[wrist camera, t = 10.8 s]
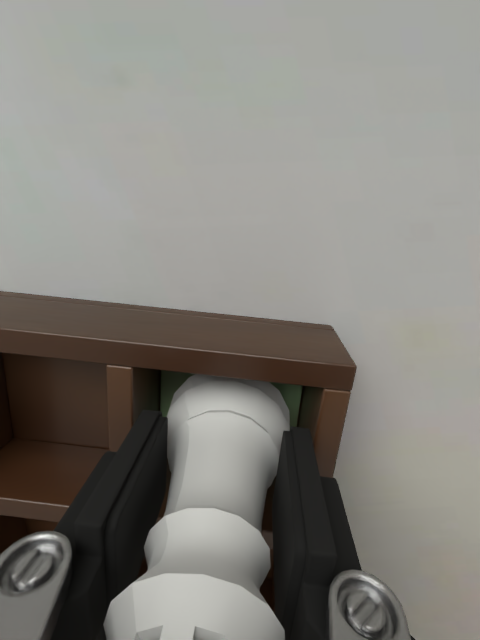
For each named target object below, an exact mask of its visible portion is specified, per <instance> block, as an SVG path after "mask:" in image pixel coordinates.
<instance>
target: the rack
mask: <svg viewBox="0 0 480 640" xmlns="http://www.w3.org/2000/svg"><path fill="white" fill-rule="evenodd" d="M356 368H357V367H356V365H355V363H354V361H353V360H352V358H351V357H350V355H349V353H348V352H347V350H346V348H345V347H344V345H343V344H342V342H341V340H340V339H339V337H338V335H337V334H336V332H335V331H334V329H333V328H332V326H330V325H322V324H312V323H302V322H293V321H283V320H273V319H264V318H254V317H244V316H235V315H225V314H216V313H206V312H196V311H187V310H177V309H167V308H158V307H148V306H138V305H129V304H119V303H109V302H100V301H90V300H80V299H71V298H61V297H52V296H42V295H32V294H23V293H13V292H3V291H0V555H1V554H2V553H3V552H4V551H5V550H6V549H7V548H8V547H10V546H11V545H12V544H13V543H15V542H16V541H18V540H20V539H22V538H23V537H25V536H28V535H30V534H33V533H36V532H42V531H54V529H55V527H56V526H57V524H58V523H59V521H60V520H61V518H62V517H63V515H64V514H65V512H66V511H67V509H68V508H69V506H70V505H71V503H72V502H73V500H74V499H75V497H76V495H77V494H78V492H79V491H80V489H81V488H82V486H83V485H84V483H85V482H86V480H87V479H88V477H89V476H90V474H91V473H92V471H93V470H94V468H95V467H96V465H97V463H98V462H99V460H100V459H101V457H102V456H103V455H104V454H105V453H106V452H107V451H111V452H117V451H118V449H119V448H120V446H121V444H122V443H123V441H124V439H125V438H126V436H127V434H128V433H129V431H130V430H131V428H132V426H133V425H134V423H135V421H136V420H137V418H138V416H139V415H140V413H141V412H142V410H152V411H161V412H162V417H167V414H168V411H169V408H170V405H171V402H172V399H173V395H174V393H175V392H176V391H177V390H178V389H179V388H180V387H181V385H182V384H183V383H184V382H185V381H186V380H187V379H188V378H189V377H191V376H193V375H195V374H201V375H210V376H219V377H228V378H237V379H247V380H256V381H265V382H270V383H271V384H272V385H273V386H274V387H276V388H277V389H278V390H279V391H280V393H281V395H282V397H283V399H284V401H285V403H286V405H287V407H288V409H289V416H290V427H291V426H292V427H301V428H309V429H310V433H311V437H312V442H313V446H314V451H315V456H316V460H317V465H318V470H319V474H320V476H322V477H330V478H333V473H334V469H335V464H336V459H337V455H338V450H339V445H340V441H341V436H342V431H343V427H344V422H345V417H346V413H347V408H348V403H349V399H350V394H351V392H350V391H351V390H352V386H353V382H354V377H355V372H356ZM171 474H172V473H171V471H170V469H169V463H168V458H167V473H166V492H165V496H164V500H163V503H162V506H161V509H160V512H159V515H158V518H157V521H156V523H155V524H157V523H158V522H159V521H160V520H161V519H162V518H163V516H164V513H165V510H166V504H167V498H168V492H169V486H170V480H171ZM275 482H276V476H275V478H274V480H273V482H272V484H271V486H270V487H269V488H268V489H267V494H266V500H265V506H264V513H263V519H262V531H261V535H262V537H263V538H264V540H265V542H266V543H267V545H268V547H269V548H270V564H271V568H270V570H269V572H268V574H267V576H266V578H265V580H264V581H263V583H262V585H261V586H260V593H261V595H262V596H263V598H264V599H265V601H266V602H267V604H268V605H269V607H270V608H271V610H272V611H273V613H274V614H275V592H274V560H273V527H272V503H273V495H274V488H275ZM147 570H148V566H147V561H146V556H145V555H144V558H143V561H142V564H141V567H140V570H139V573H138V576H137V579H138V578H140V577H141V576H142V575H144V574H145V573H146V572H147ZM137 579H136V580H137Z"/></svg>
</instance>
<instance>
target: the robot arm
mask: <svg viewBox="0 0 480 640" xmlns="http://www.w3.org/2000/svg"><path fill="white" fill-rule="evenodd" d="M167 436H168V418H167V417H162V412H161V411H152V410H142V412H141V413H140V415H139V416H138V418H137V420H136V421H135V423H134V425H133V426H132V428H131V430H130V431H129V433H128V434H127V436H126V438H125V439H124V441H123V443H122V444H121V446H120V448H119V449H118V451H117V452H111V451H107V452H106V453H105V454H104V455H103V456H102V457H101V459H100V460H99V462H98V463H97V465H96V467H95V468H94V470H93V471H92V473H91V474H90V476H89V477H88V479H87V480H86V482H85V483H84V485H83V486H82V488H81V489H80V491H79V492H78V494H77V495H76V497H75V499H74V500H73V502H72V503H71V505H70V506H69V508H68V509H67V511H66V512H65V514H64V515H63V517H62V518H61V520H60V521H59V523H58V524H57V526H56V527H55V529H54V531H42V532H36V533H33V534H30V535H28V536H25V537H23V538H22V539H20V540H18V541H16V542H15V543H13V544H12V545H11V546H10V547H8V548H7V549H6V550H5V551H4V552H3V553H2V554H1V555H0V640H107V639H106V634H105V630H104V625H103V624H104V621H105V618H106V615H107V611H108V608H109V605H110V602H111V601H112V600H113V599H114V598H115V597H117V596H118V595H119V594H120V593H121V592H122V591H124V590H125V589H126V588H127V587H128V586H129V585H131V584H132V583H133V582H134V581H136V579H137V576H138V573H139V570H140V567H141V564H142V561H143V558H144V555H145V551H144V545H145V542H146V539H147V536H148V534H149V531H150V529H151V528H152V527H153V526H154V525H155V523H156V521H157V518H158V515H159V512H160V509H161V506H162V503H163V500H164V496H165V492H166V473H167ZM272 527H273V560H274V592H275V616H276V618H277V619H278V621H279V622H280V624H281V625H282V627H283V629H284V630H285V640H415V639H414V638H413V637H412V636H411V635H410V633H409V629H408V624H407V620H406V616H405V614H404V611H403V608H402V605H401V604H400V602H399V600H398V599H397V597H396V596H395V594H394V593H393V592H392V591H391V590H390V588H389V587H388V586H387V585H386V584H385V583H384V582H382V581H381V580H379V579H378V578H377V577H375V576H374V575H372V574H369V573H367V572H364V571H362V570H361V567H360V563H359V559H358V556H357V552H356V548H355V545H354V541H353V538H352V534H351V530H350V527H349V523H348V519H347V516H346V512H345V509H344V505H343V501H342V498H341V494H340V490H339V487H338V484H337V481H336V479H335V478H330V477H322V476H320V474H319V470H318V465H317V460H316V456H315V451H314V446H313V442H312V437H311V433H310V429H309V428H301V427H292V426H291V427H290V431H283V436H282V442H281V449H280V455H279V462H278V469H277V475H276V482H275V488H274V495H273V503H272Z"/></svg>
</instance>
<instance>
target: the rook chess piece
mask: <svg viewBox="0 0 480 640" xmlns="http://www.w3.org/2000/svg"><path fill="white" fill-rule="evenodd" d="M167 418H168V436H167V458H168V463H169V469H170V471H171V473H172V474H171V480H170V486H169V492H168V498H167V504H166V510H165V513H164V516H163V518H162V519H161V520H160V521H159V522H158V523H157V524H155V525H154V526H153V527H152V528H151V529H150V531H149V534H148V536H147V539H146V542H145V545H144V551H145V556H146V561H147V566H148V570H147V572H146V573H145V574H144V575H142V576H141V577H140V578H138V579H137V580H136V581H134V582H133V583H132V584H131V585H129V586H128V587H127V588H126V589H125V590H124V591H122V592H121V593H120V594H119V595H118V596H117V597H115V598H114V599H113V600H112V601H111V602H110V605H109V608H108V611H107V615H106V618H105V621H104V624H103V625H104V630H105V634H106V639H107V640H285V630H284V629H283V627H282V625H281V624H280V622H279V621H278V619H277V618H276V616H275V614H274V613H273V611H272V610H271V608H270V607H269V605H268V604H267V602H266V601H265V599H264V598H263V596H262V595H261V593H260V586H261V585H262V583H263V581H264V580H265V578H266V576H267V574H268V572H269V570H270V568H271V564H270V548H269V547H268V545H267V543H266V542H265V540H264V538H263V537H262V535H261V531H262V519H263V513H264V506H265V500H266V494H267V489H268V488H269V487H270V486H271V484H272V482H273V480H274V478H275V476H276V475H277V469H278V462H279V455H280V449H281V442H282V436H283V431H290V416H289V409H288V407H287V405H286V403H285V401H284V399H283V397H282V395H281V393H280V391H279V390H278V389H277V388H276V387H274V386H273V385H272V384H271V383H270V382H265V381H256V380H247V379H237V378H228V377H219V376H210V375H201V374H195V375H193V376H191V377H189V378H188V379H187V380H186V381H185V382H184V383H183V384H182V385H181V387H180V388H179V389H178V390H177V391H176V392H175V393H174V395H173V399H172V402H171V405H170V408H169V411H168V414H167Z"/></svg>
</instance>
